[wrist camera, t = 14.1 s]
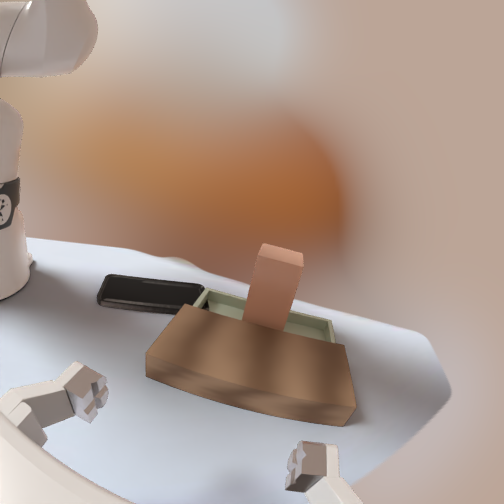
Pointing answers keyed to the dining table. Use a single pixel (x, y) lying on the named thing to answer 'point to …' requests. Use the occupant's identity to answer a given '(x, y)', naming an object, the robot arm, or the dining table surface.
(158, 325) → the dining table surface
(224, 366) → the platform
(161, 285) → the phone
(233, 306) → the box
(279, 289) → the terracotta block
